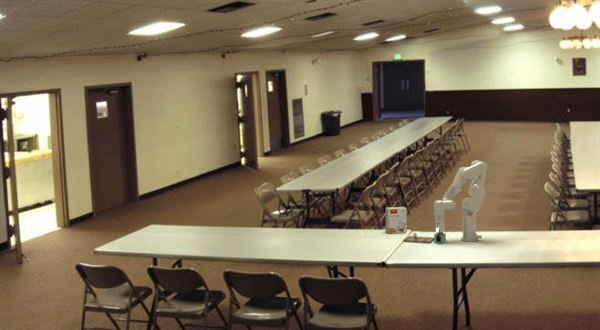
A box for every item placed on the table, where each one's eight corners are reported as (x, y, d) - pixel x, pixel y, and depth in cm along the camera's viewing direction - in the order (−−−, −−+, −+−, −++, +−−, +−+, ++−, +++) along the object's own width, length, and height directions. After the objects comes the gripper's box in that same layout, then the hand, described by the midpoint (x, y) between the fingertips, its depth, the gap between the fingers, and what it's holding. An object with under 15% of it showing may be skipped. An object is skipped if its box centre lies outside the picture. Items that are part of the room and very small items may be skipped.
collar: (445, 241, 532) (445, 233, 531) (443, 243, 525) (443, 235, 525) (436, 240, 535) (436, 232, 534) (434, 242, 528) (433, 234, 528)
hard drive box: (387, 234, 563) (387, 209, 561) (385, 232, 571) (385, 207, 569) (407, 232, 565) (406, 208, 563) (404, 230, 573) (404, 206, 571)
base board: (434, 239, 539) (434, 232, 538) (429, 243, 526) (429, 236, 526) (408, 237, 547) (408, 230, 547) (403, 241, 535) (403, 234, 534)
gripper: (441, 219, 518) (441, 243, 521) (447, 215, 534) (447, 238, 536) (431, 218, 522) (431, 242, 524) (437, 214, 537) (437, 237, 539)
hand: (439, 240), depth 530 cm, fingers closed on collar, 7 cm apart
